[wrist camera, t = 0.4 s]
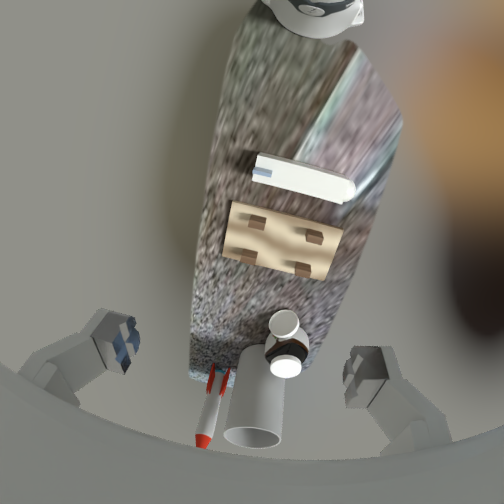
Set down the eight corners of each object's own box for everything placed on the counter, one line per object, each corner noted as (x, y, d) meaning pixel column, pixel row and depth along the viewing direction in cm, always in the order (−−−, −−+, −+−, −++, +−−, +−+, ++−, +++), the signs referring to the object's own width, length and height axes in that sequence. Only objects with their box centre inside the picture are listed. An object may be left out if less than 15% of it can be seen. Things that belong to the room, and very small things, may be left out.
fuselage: (260, 152, 48) (255, 157, 42) (355, 178, 48) (366, 188, 42) (254, 175, 50) (249, 184, 44) (348, 200, 50) (357, 213, 44)
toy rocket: (228, 377, 79) (208, 465, 52) (210, 372, 79) (186, 459, 52) (231, 367, 76) (211, 459, 50) (212, 362, 76) (187, 453, 50)
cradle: (233, 200, 53) (229, 206, 50) (342, 228, 53) (346, 236, 49) (222, 253, 59) (218, 263, 55) (323, 278, 59) (325, 288, 55)
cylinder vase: (295, 358, 71) (293, 440, 49) (263, 377, 77) (254, 451, 55) (261, 335, 68) (249, 421, 46) (231, 356, 74) (212, 434, 52)
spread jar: (282, 349, 70) (279, 384, 60) (251, 325, 67) (245, 361, 57) (318, 328, 65) (321, 364, 55) (288, 300, 63) (287, 336, 52)
